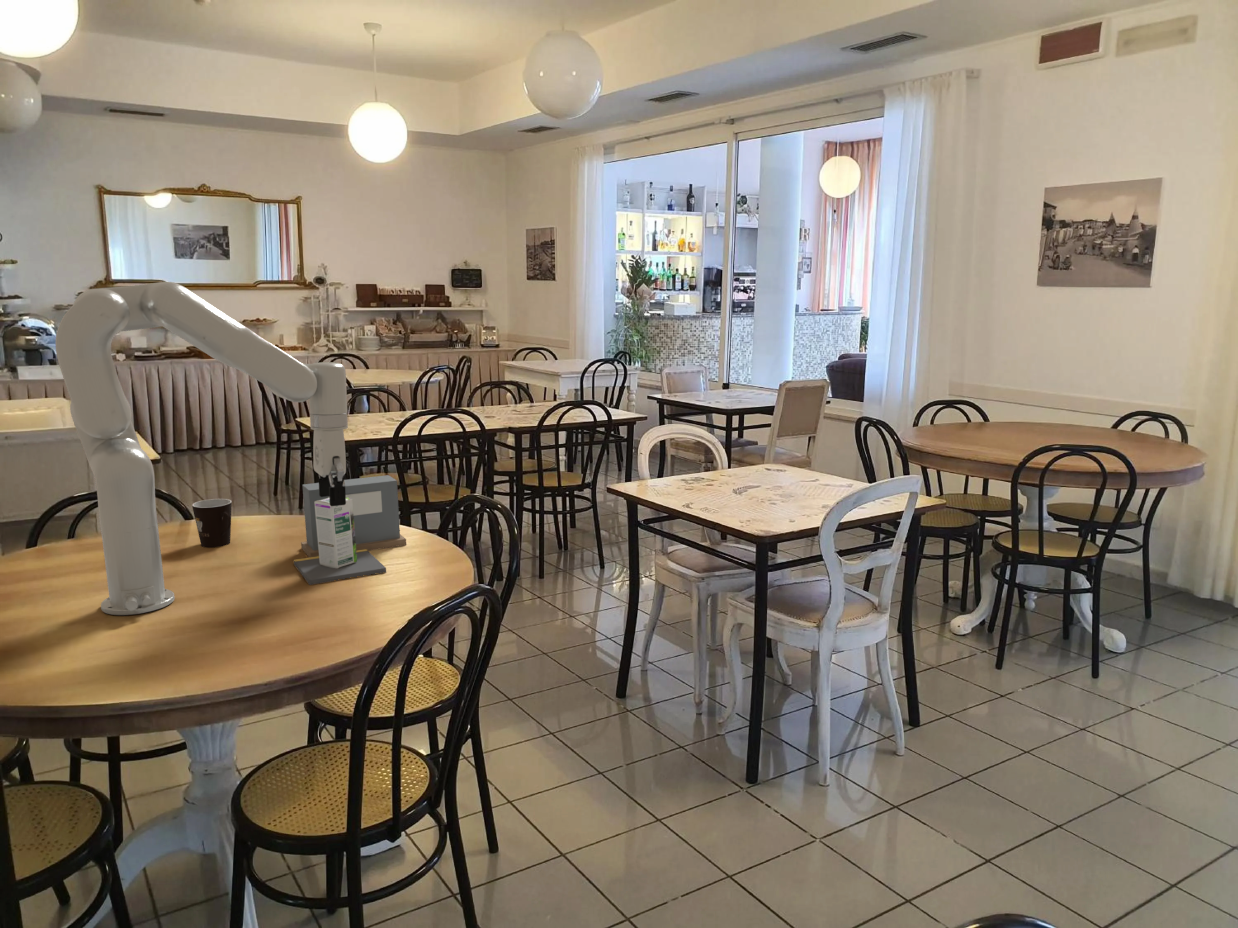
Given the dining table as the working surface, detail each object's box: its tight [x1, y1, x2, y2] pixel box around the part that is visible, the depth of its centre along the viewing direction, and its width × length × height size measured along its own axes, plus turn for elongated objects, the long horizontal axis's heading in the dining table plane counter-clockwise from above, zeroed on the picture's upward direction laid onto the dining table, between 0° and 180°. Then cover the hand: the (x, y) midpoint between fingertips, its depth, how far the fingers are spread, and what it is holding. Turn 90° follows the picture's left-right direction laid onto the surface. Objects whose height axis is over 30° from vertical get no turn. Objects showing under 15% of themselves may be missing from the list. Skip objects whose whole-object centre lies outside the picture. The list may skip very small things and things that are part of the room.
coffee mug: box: [192, 498, 233, 549], centre depth 213 cm, size 12×9×10 cm
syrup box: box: [314, 497, 357, 569], centre depth 195 cm, size 6×6×14 cm
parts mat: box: [293, 549, 387, 586], centre depth 196 cm, size 16×16×1 cm
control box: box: [300, 474, 407, 558], centre depth 211 cm, size 10×22×16 cm, turn 120°
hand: (332, 500), depth 193 cm, fingers open, 9 cm apart
